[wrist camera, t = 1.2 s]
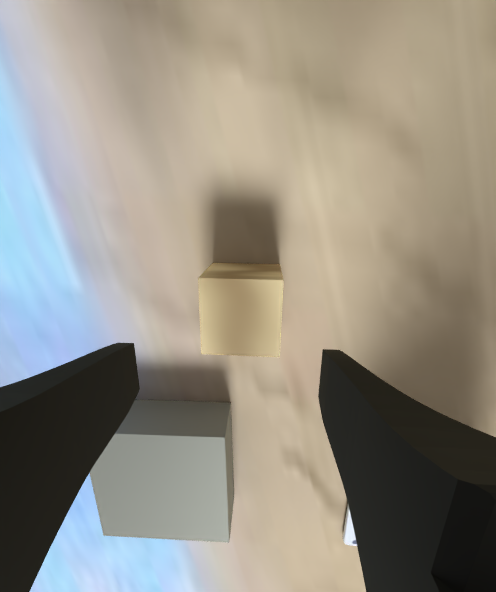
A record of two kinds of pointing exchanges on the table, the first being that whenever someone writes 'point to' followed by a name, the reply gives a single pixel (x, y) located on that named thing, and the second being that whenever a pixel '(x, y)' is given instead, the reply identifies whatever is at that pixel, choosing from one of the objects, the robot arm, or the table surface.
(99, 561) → the table surface
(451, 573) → the robot arm
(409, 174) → the table surface
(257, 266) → the oak cube
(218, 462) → the gray block
